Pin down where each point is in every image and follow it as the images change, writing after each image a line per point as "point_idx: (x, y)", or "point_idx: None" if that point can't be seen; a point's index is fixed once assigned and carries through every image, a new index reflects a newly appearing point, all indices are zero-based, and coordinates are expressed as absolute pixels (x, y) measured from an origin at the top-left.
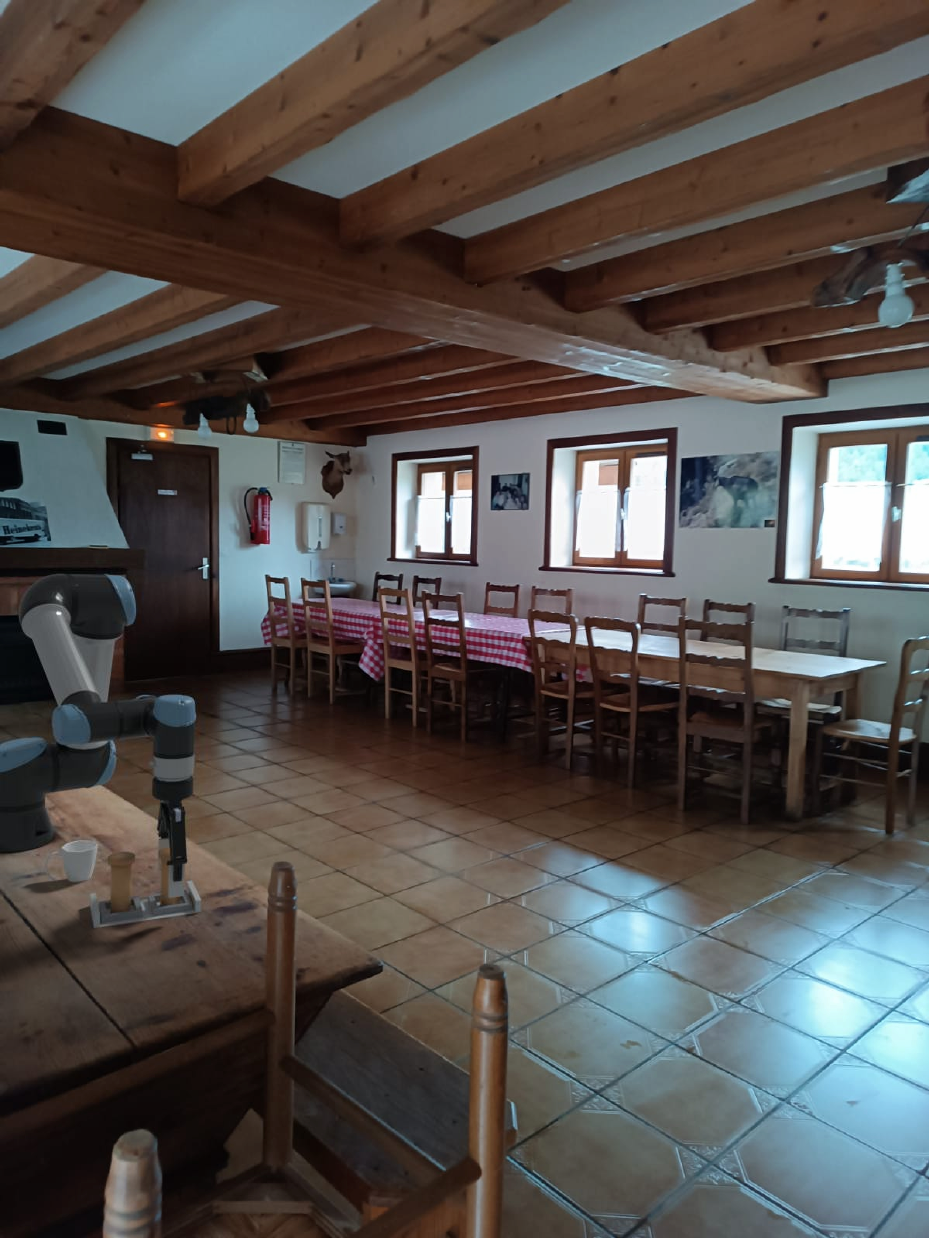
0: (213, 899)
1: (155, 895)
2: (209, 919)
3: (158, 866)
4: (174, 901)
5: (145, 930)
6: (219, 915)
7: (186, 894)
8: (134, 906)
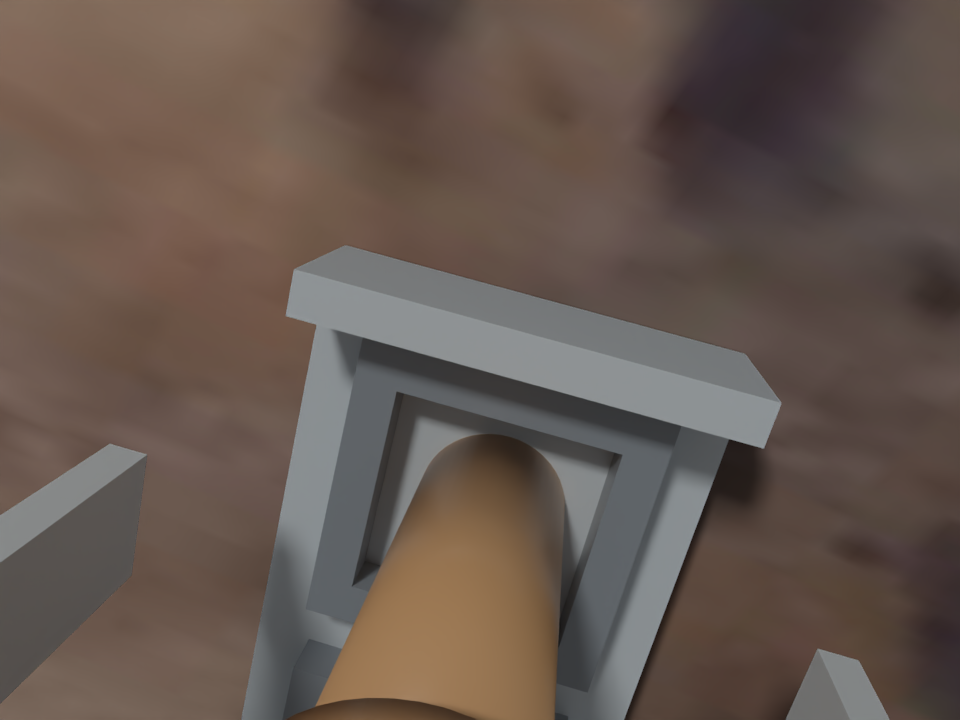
0: (476, 105)
1: (345, 572)
2: (815, 309)
3: (103, 602)
4: (563, 529)
5: (677, 713)
6: (802, 209)
7: (459, 375)
8: None
